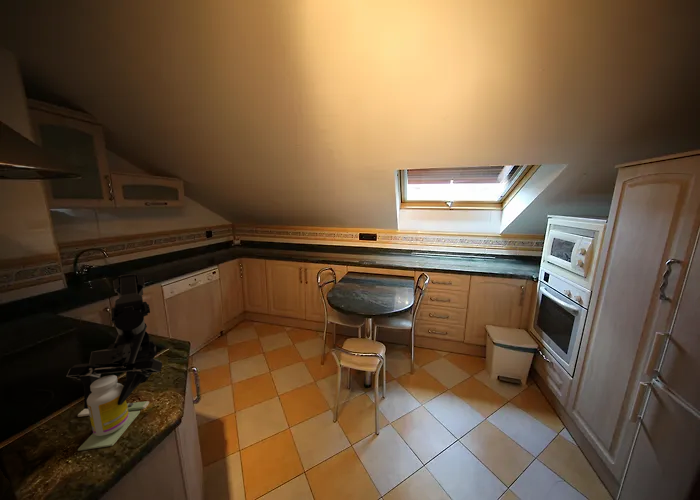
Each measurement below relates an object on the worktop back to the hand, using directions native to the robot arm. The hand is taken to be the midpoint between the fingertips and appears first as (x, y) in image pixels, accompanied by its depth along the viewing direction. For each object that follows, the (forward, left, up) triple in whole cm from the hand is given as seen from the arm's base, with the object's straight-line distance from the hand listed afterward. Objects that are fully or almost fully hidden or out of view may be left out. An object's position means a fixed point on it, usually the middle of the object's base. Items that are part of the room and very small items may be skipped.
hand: (103, 406), depth 59 cm
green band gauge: (-3, -4, -8) cm, 9 cm away
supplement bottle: (-2, 0, -7) cm, 7 cm away
